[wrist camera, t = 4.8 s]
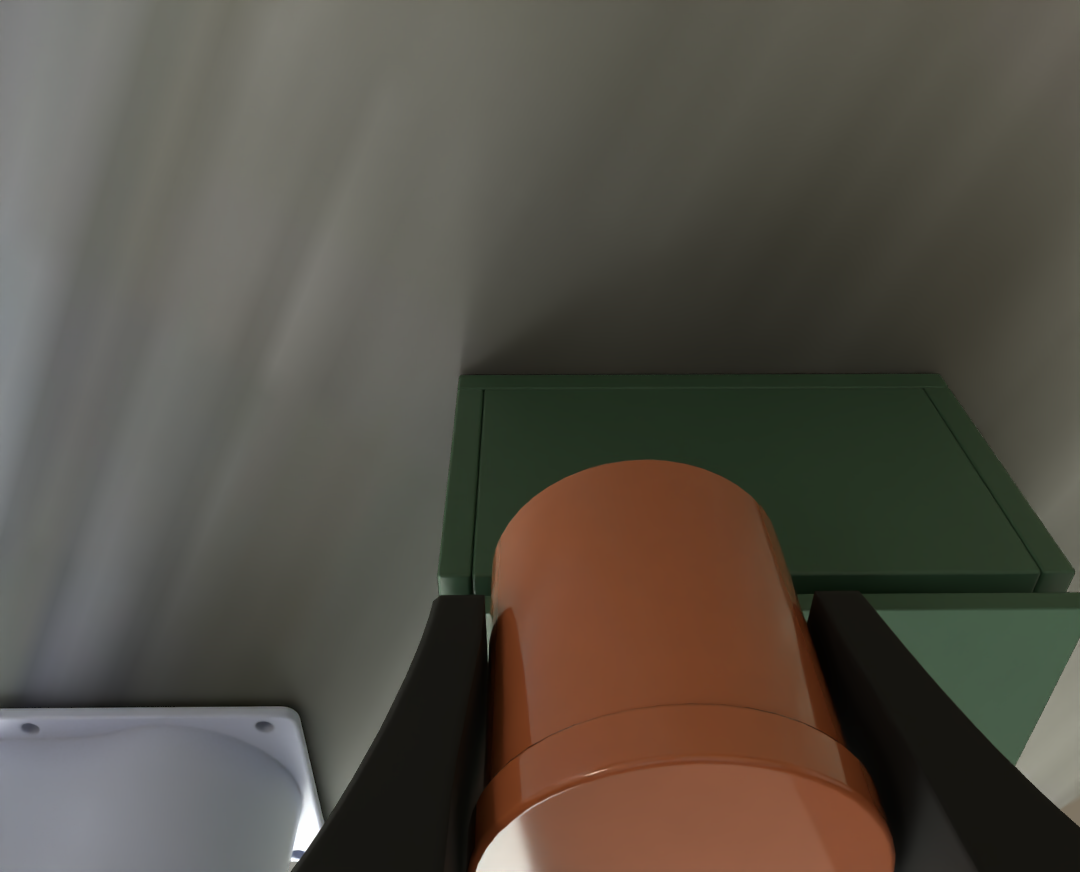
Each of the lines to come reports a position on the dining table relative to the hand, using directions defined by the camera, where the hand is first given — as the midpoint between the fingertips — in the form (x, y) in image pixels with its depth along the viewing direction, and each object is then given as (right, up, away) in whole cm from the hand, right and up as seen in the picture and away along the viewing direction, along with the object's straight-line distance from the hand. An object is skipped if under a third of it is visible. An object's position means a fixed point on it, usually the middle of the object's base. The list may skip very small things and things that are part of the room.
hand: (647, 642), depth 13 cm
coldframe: (+2, -1, +12) cm, 12 cm away
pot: (0, +1, +1) cm, 1 cm away
